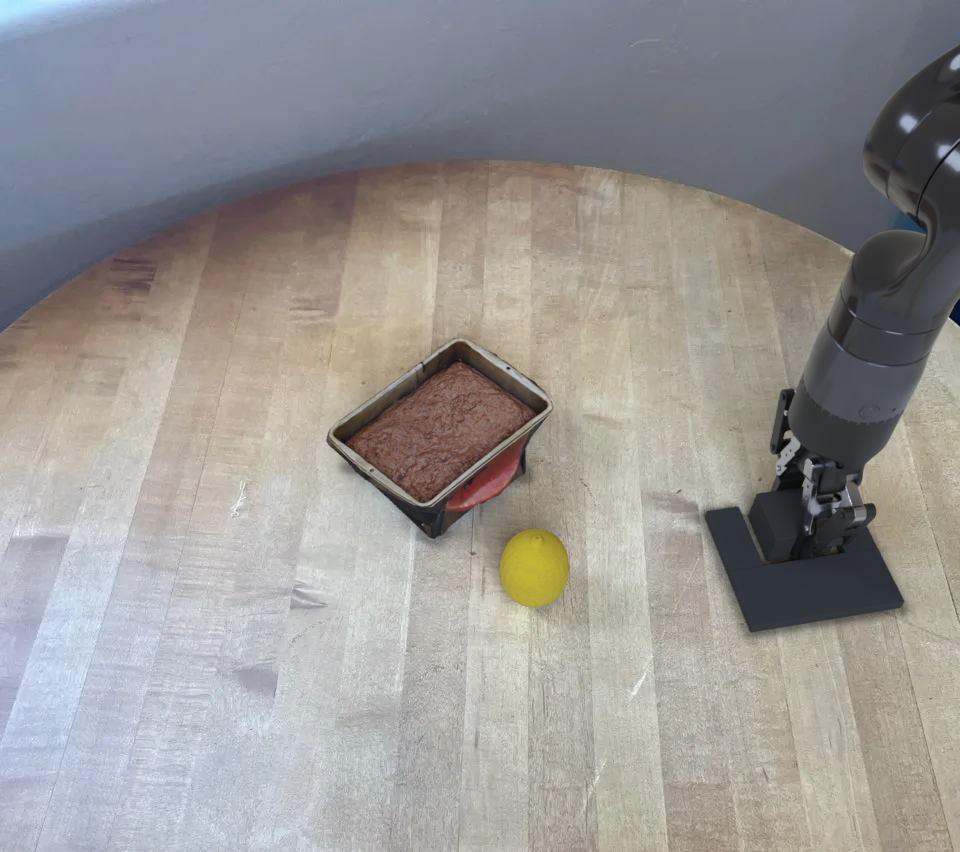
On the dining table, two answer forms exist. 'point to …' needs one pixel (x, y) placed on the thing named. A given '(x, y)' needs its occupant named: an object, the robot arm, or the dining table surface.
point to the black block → (779, 521)
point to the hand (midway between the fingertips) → (791, 528)
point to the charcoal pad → (801, 578)
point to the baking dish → (444, 434)
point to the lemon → (534, 568)
